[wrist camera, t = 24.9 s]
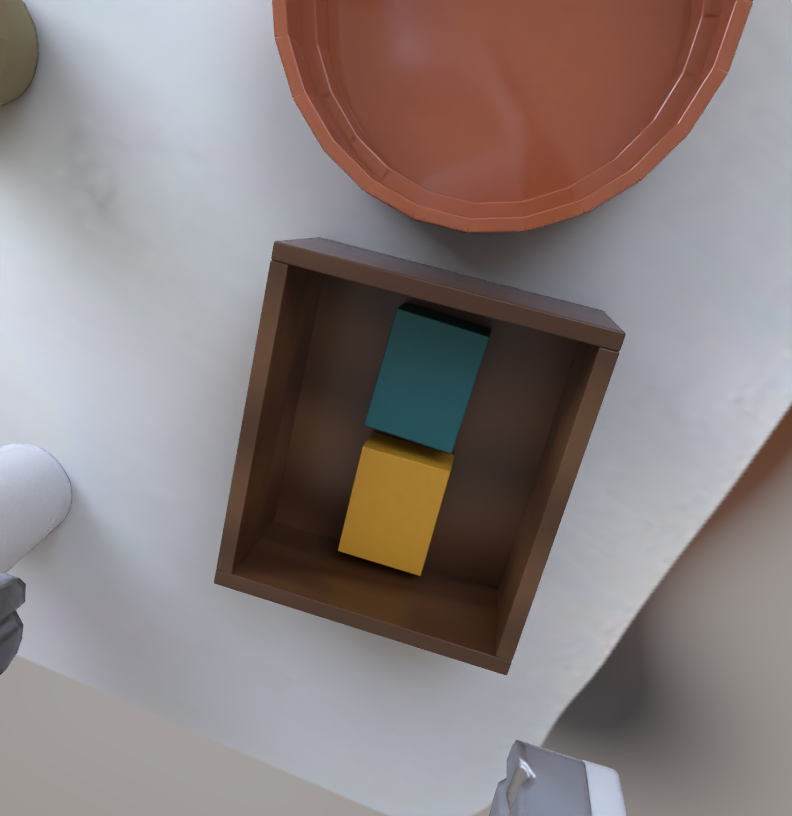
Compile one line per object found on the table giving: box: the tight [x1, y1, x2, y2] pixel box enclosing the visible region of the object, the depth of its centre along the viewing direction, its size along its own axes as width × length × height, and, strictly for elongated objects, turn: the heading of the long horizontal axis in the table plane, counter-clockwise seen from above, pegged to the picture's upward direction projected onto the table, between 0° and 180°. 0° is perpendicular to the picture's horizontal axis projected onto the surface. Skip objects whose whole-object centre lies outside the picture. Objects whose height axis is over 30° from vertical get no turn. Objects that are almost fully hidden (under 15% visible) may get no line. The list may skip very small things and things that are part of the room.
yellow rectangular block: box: [338, 432, 454, 576], centre depth 35 cm, size 6×4×2 cm
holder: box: [214, 237, 626, 675], centre depth 32 cm, size 17×15×7 cm
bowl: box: [272, 0, 753, 233], centre depth 27 cm, size 18×18×4 cm
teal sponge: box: [364, 302, 491, 453], centre depth 33 cm, size 6×4×2 cm
